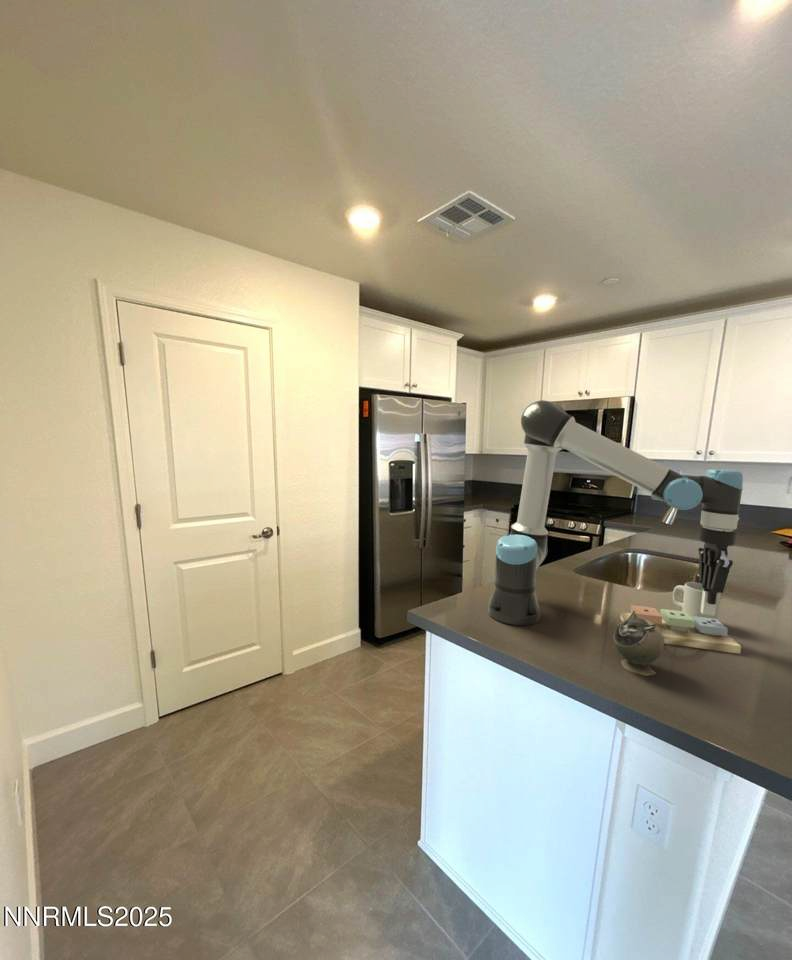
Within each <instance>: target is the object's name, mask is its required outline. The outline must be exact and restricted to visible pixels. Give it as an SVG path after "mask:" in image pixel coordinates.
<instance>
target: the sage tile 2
mask: <svg viewBox="0 0 792 960" xmlns="http://www.w3.org/2000/svg"><path fill="white" fill-rule="evenodd" d="M659 614H660V615H661V616H662V618H663V619H664V621H665V622H666V623H667V624H666V625H667V626H668V628H669V629H670V630H673V631H680V632H686V627H691V628H694V623H695V621H694V620H693V619H692V618H691V617H690V616H689V615H688V614H687V613H686V612H685V611H682V610H675V609H674V610H673V609H666V608H660V612H659Z"/></svg>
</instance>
